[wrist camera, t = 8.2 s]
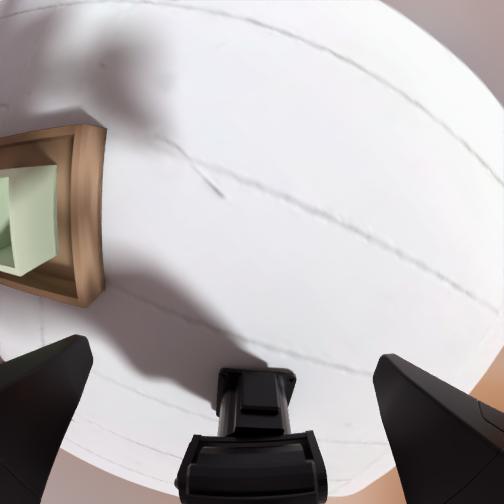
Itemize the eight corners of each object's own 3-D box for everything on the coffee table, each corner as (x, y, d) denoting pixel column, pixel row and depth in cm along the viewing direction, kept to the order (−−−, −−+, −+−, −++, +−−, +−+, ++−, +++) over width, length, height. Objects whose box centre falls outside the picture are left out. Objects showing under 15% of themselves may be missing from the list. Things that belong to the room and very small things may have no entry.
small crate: (59, 253, 18) (20, 276, 13) (15, 246, 18) (-21, 264, 13) (57, 164, 16) (13, 168, 11) (12, 168, 16) (-28, 174, 11)
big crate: (104, 289, 19) (85, 308, 16) (0, 265, 19) (-20, 276, 16) (107, 128, 16) (83, 124, 13) (-4, 144, 15) (-27, 145, 12)
